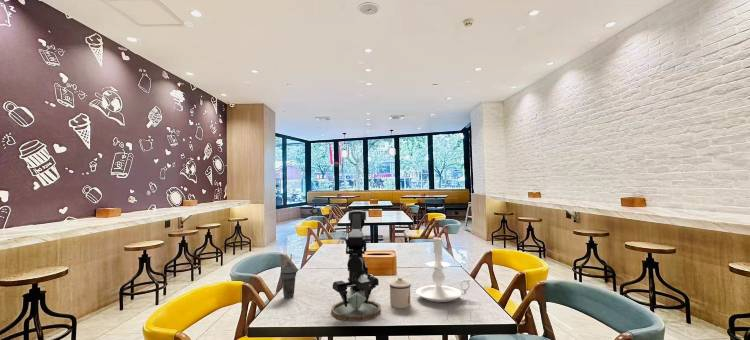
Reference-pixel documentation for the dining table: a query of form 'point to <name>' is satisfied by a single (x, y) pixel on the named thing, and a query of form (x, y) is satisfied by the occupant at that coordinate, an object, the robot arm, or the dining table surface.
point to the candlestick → (440, 279)
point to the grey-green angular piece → (356, 300)
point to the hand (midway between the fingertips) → (356, 304)
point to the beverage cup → (288, 279)
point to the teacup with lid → (400, 293)
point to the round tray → (356, 311)
